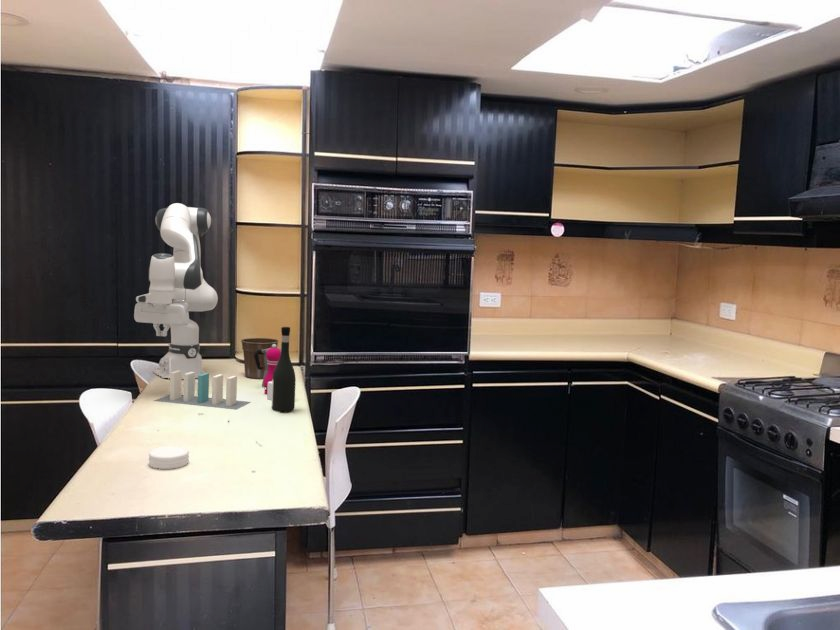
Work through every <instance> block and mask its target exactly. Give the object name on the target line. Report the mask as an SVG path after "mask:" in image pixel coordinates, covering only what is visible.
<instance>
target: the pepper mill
mask: <svg viewBox="0 0 840 630" xmlns="http://www.w3.org/2000/svg"><path fill="white" fill-rule="evenodd" d="M280 349H281V348H280ZM280 349H278V347H277V348H276V344H273V345H272V348H270V349H268V350H267V352H266V357H267V358H268V360H267V364H268V372H267V375H266V377H265V379H264V383H263V384H264V386H265V387H264V388H265V389H264V395H267V385H268V382H270V381H272V380H273V371H274V370H275V368H276V366H277V363H278V361H279V358H280V355H281V351H280Z"/></svg>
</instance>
